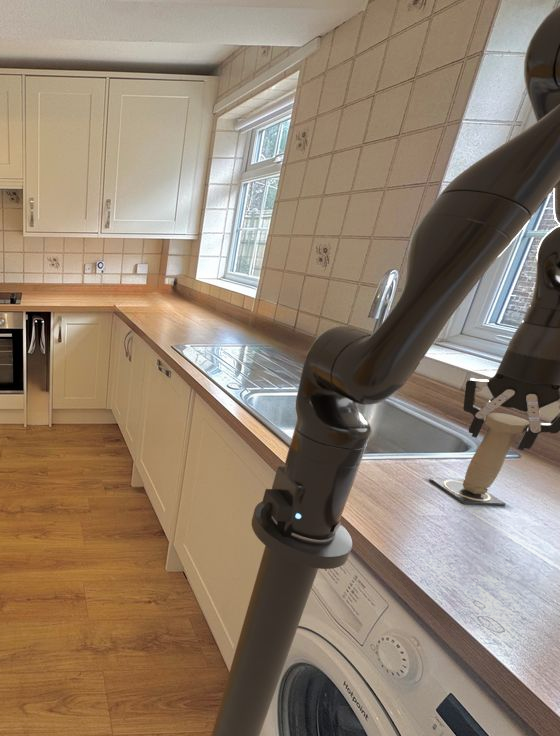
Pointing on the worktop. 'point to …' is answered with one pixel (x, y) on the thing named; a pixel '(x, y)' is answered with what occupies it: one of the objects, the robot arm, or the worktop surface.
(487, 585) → the worktop surface
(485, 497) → the slate board
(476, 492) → the handle
